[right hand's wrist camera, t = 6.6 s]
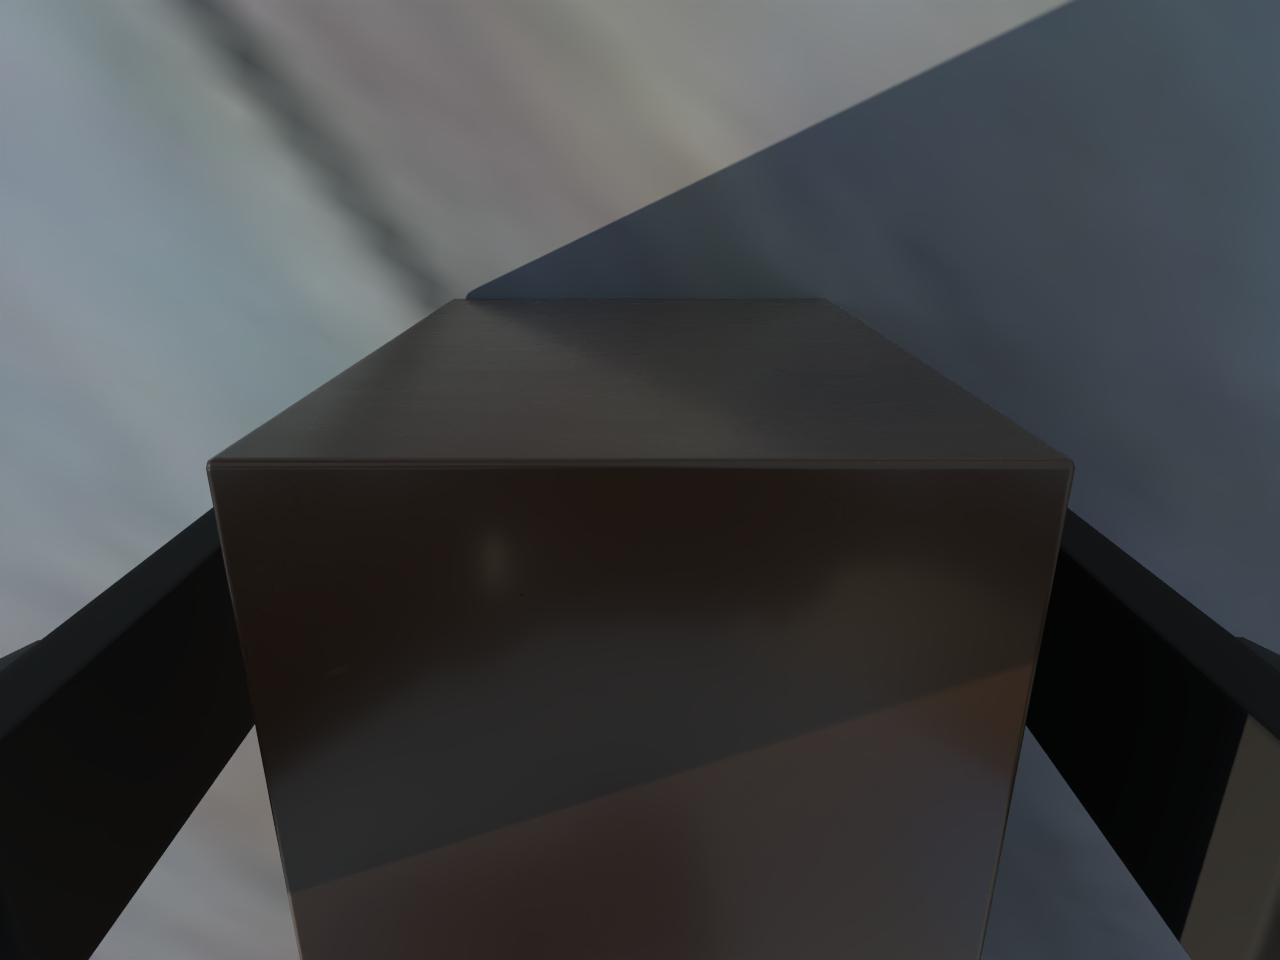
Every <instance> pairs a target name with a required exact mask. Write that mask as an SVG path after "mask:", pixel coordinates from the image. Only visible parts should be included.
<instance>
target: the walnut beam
mask: <svg viewBox="0 0 1280 960" xmlns="http://www.w3.org/2000/svg"><path fill="white" fill-rule="evenodd" d="M206 470H207V476H208V481H209V486H210V491H211V497H212V502H213V507H214V512H215V517H216V523H217V528H218V533H219V538H220V543H221V549H222V554H223V559H224V564H225V570H226V575H227V580H228V585H229V590H230V596H231V601H232V606H233V611H234V617H235V622H236V627H237V632H238V637H239V643H240V648H241V653H242V658H243V663H244V669H245V674H246V679H247V684H248V690H249V695H250V700H251V705H252V710H253V716H254V721H255V726H256V731H257V736H258V742H259V747H260V752H261V757H262V763H263V768H264V773H265V778H266V783H267V789H268V794H269V799H270V804H271V810H272V815H273V820H274V825H275V830H276V836H277V841H278V846H279V851H280V856H281V862H282V867H283V872H284V877H285V883H286V888H287V893H288V898H289V903H290V909H291V914H292V919H293V924H294V929H295V935H296V940H297V945H298V950H299V956H300V960H980V959H981V954H982V949H983V943H984V938H985V933H986V928H987V923H988V917H989V912H990V907H991V902H992V897H993V891H994V886H995V881H996V876H997V871H998V865H999V860H1000V855H1001V850H1002V845H1003V839H1004V834H1005V829H1006V824H1007V818H1008V813H1009V808H1010V803H1011V798H1012V792H1013V787H1014V782H1015V777H1016V772H1017V766H1018V761H1019V756H1020V751H1021V746H1022V740H1023V735H1024V730H1025V725H1026V720H1027V714H1028V709H1029V704H1030V699H1031V693H1032V688H1033V683H1034V678H1035V673H1036V667H1037V662H1038V657H1039V652H1040V647H1041V641H1042V636H1043V631H1044V626H1045V621H1046V615H1047V610H1048V605H1049V600H1050V595H1051V589H1052V584H1053V579H1054V574H1055V569H1056V563H1057V558H1058V553H1059V548H1060V542H1061V537H1062V532H1063V527H1064V522H1065V516H1066V511H1067V506H1068V501H1069V496H1070V490H1071V485H1072V480H1073V475H1074V470H1075V467H1074V462H1073V460H1072V459H1070V458H1069V457H1067V456H1066V455H1064V454H1062V453H1061V452H1059V451H1058V450H1056V449H1055V448H1053V447H1052V446H1050V445H1049V444H1047V443H1046V442H1044V441H1043V440H1041V439H1040V438H1038V437H1036V436H1035V435H1033V434H1032V433H1030V432H1029V431H1027V430H1026V429H1024V428H1023V427H1021V426H1020V425H1018V424H1017V423H1015V422H1014V421H1012V420H1010V419H1009V418H1007V417H1006V416H1004V415H1003V414H1001V413H1000V412H998V411H997V410H995V409H994V408H992V407H991V406H989V405H987V404H986V403H984V402H983V401H981V400H980V399H978V398H977V397H975V396H974V395H972V394H971V393H969V392H968V391H966V390H965V389H963V388H961V387H960V386H958V385H957V384H955V383H954V382H952V381H951V380H949V379H948V378H946V377H945V376H943V375H942V374H940V373H939V372H937V371H935V370H934V369H932V368H931V367H929V366H928V365H926V364H925V363H923V362H922V361H920V360H919V359H917V358H916V357H914V356H912V355H911V354H909V353H908V352H906V351H905V350H903V349H902V348H900V347H899V346H897V345H896V344H894V343H893V342H891V341H890V340H888V339H886V338H885V337H883V336H882V335H880V334H879V333H877V332H876V331H874V330H873V329H871V328H870V327H868V326H867V325H865V324H863V323H862V322H860V321H859V320H857V319H856V318H854V317H853V316H851V315H850V314H848V313H847V312H845V311H844V310H842V309H841V308H839V307H837V306H836V305H834V304H833V303H831V302H830V301H828V300H826V299H454V300H452V301H450V302H449V303H447V304H446V305H444V306H442V307H441V308H439V309H438V310H436V311H435V312H433V313H432V314H430V315H429V316H427V317H426V318H424V319H423V320H421V321H420V322H418V323H417V324H415V325H414V326H412V327H410V328H409V329H407V330H406V331H404V332H403V333H401V334H400V335H398V336H397V337H395V338H394V339H392V340H391V341H389V342H388V343H386V344H385V345H383V346H382V347H380V348H379V349H377V350H375V351H374V352H372V353H371V354H369V355H368V356H366V357H365V358H363V359H362V360H360V361H359V362H357V363H356V364H354V365H353V366H351V367H350V368H348V369H347V370H345V371H343V372H342V373H340V374H339V375H337V376H336V377H334V378H333V379H331V380H330V381H328V382H327V383H325V384H324V385H322V386H321V387H319V388H318V389H316V390H315V391H313V392H311V393H310V394H308V395H307V396H305V397H304V398H302V399H301V400H299V401H298V402H296V403H295V404H293V405H292V406H290V407H289V408H287V409H286V410H284V411H283V412H281V413H280V414H278V415H276V416H275V417H273V418H272V419H270V420H269V421H267V422H266V423H264V424H263V425H261V426H260V427H258V428H257V429H255V430H254V431H252V432H251V433H249V434H248V435H246V436H244V437H243V438H241V439H240V440H238V441H237V442H235V443H234V444H232V445H231V446H229V447H228V448H226V449H225V450H223V451H222V452H220V453H219V454H217V455H216V456H214V457H212V458H211V459H209V460H208V462H207V467H206Z"/></svg>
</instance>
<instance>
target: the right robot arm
mask: <svg viewBox="0 0 1280 960" xmlns="http://www.w3.org/2000/svg"><path fill="white" fill-rule="evenodd" d="M254 724H255V721H254V716H253V710H252V705H251V700H250V695H249V690H248V684H247V679H246V674H245V669H244V663H243V658H242V653H241V648H240V643H239V637H238V632H237V627H236V622H235V617H234V611H233V606H232V601H231V596H230V590H229V585H228V580H227V575H226V570H225V564H224V559H223V554H222V549H221V543H220V538H219V533H218V528H217V523H216V517H215V512H214V507H213V508H212V509H210V510H209V511H208V512H207V513H205V514H204V515H203V516H201V517H200V518H199V519H197V520H196V521H195V522H194V523H192V524H191V525H190V526H188V527H187V528H186V529H184V530H183V531H182V532H181V533H179V534H178V535H177V536H175V537H174V538H173V539H172V540H170V541H169V542H168V543H166V544H165V545H164V546H162V547H161V548H160V549H159V550H157V551H156V552H155V553H153V554H152V555H151V556H149V557H148V558H147V559H146V560H144V561H143V562H142V563H140V564H139V565H138V566H137V567H135V568H134V569H133V570H131V571H130V572H129V573H127V574H126V575H125V576H124V577H122V578H121V579H120V580H118V581H117V582H116V583H114V584H113V585H112V586H111V587H109V588H108V589H107V590H105V591H104V592H103V593H102V594H100V595H99V596H98V597H96V598H95V599H94V600H92V601H91V602H90V603H89V604H87V605H86V606H85V607H83V608H82V609H81V610H79V611H78V612H77V613H76V614H74V615H73V616H72V617H70V618H69V619H68V620H67V621H65V622H64V623H63V624H61V625H60V626H59V627H57V628H56V629H55V630H54V631H52V632H51V633H50V634H48V635H47V636H46V637H45V638H43V639H42V640H38V641H36V642H34V643H32V644H29V645H27V646H25V647H23V648H21V649H19V650H17V651H15V652H13V653H11V654H9V655H7V656H5V657H3V658H1V659H0V960H89V958H90V957H91V955H92V954H93V952H94V951H95V950H96V948H97V947H98V945H99V944H100V943H101V941H102V940H103V938H104V937H105V935H106V934H107V933H108V931H109V930H110V928H111V927H112V926H113V924H114V923H115V921H116V920H117V918H118V917H119V916H120V914H121V913H122V911H123V910H124V909H125V907H126V906H127V904H128V903H129V901H130V900H131V899H132V897H133V896H134V894H135V893H136V892H137V890H138V889H139V887H140V886H141V884H142V883H143V882H144V880H145V879H146V877H147V876H148V875H149V873H150V872H151V870H152V869H153V867H154V866H155V865H156V863H157V862H158V860H159V859H160V858H161V856H162V855H163V853H164V852H165V850H166V849H167V848H168V846H169V845H170V843H171V842H172V841H173V839H174V838H175V836H176V835H177V833H178V832H179V831H180V829H181V828H182V826H183V825H184V824H185V822H186V821H187V819H188V818H189V816H190V815H191V814H192V812H193V811H194V809H195V808H196V807H197V805H198V804H199V802H200V801H201V799H202V798H203V797H204V795H205V794H206V792H207V791H208V790H209V788H210V787H211V785H212V784H213V782H214V781H215V780H216V778H217V777H218V775H219V774H220V773H221V771H222V770H223V768H224V767H225V765H226V764H227V763H228V761H229V760H230V758H231V757H232V756H233V754H234V753H235V751H236V750H237V748H238V747H239V746H240V744H241V743H242V741H243V740H244V739H245V737H246V736H247V734H248V733H249V731H250V730H251V729H252V727H253V726H254ZM1026 726H1027V727H1028V729H1029V730H1030V731H1031V733H1032V734H1033V736H1034V737H1035V738H1036V740H1037V741H1038V743H1039V744H1040V746H1041V747H1042V748H1043V750H1044V751H1045V753H1046V754H1047V755H1048V757H1049V758H1050V760H1051V761H1052V763H1053V764H1054V765H1055V767H1056V768H1057V770H1058V771H1059V773H1060V774H1061V775H1062V777H1063V778H1064V780H1065V781H1066V782H1067V784H1068V785H1069V787H1070V788H1071V790H1072V791H1073V792H1074V794H1075V795H1076V797H1077V798H1078V799H1079V801H1080V802H1081V804H1082V805H1083V807H1084V808H1085V809H1086V811H1087V812H1088V814H1089V815H1090V816H1091V818H1092V819H1093V821H1094V822H1095V824H1096V825H1097V826H1098V828H1099V829H1100V831H1101V832H1102V833H1103V835H1104V836H1105V838H1106V839H1107V841H1108V842H1109V843H1110V845H1111V846H1112V848H1113V849H1114V850H1115V852H1116V853H1117V855H1118V856H1119V858H1120V859H1121V860H1122V862H1123V863H1124V865H1125V866H1126V867H1127V869H1128V870H1129V872H1130V873H1131V875H1132V876H1133V877H1134V879H1135V880H1136V882H1137V883H1138V884H1139V886H1140V887H1141V889H1142V890H1143V892H1144V893H1145V894H1146V896H1147V897H1148V899H1149V900H1150V901H1151V903H1152V904H1153V906H1154V907H1155V909H1156V910H1157V911H1158V913H1159V914H1160V916H1161V917H1162V918H1163V920H1164V921H1165V923H1166V924H1167V926H1168V927H1169V928H1170V930H1171V931H1172V933H1173V934H1174V935H1175V937H1176V938H1177V940H1178V941H1179V943H1180V944H1181V945H1182V947H1183V948H1184V950H1185V951H1186V952H1187V954H1188V955H1189V957H1190V958H1191V960H1280V655H1278V654H1276V653H1274V652H1272V651H1270V650H1268V649H1266V648H1264V647H1262V646H1260V645H1258V644H1256V643H1254V642H1251V641H1249V640H1247V639H1245V638H1243V637H1234V636H1233V635H1232V634H1230V633H1229V632H1228V631H1226V630H1225V629H1224V628H1223V627H1221V626H1220V625H1219V624H1217V623H1216V622H1215V621H1213V620H1212V619H1211V618H1210V617H1208V616H1207V615H1206V614H1204V613H1203V612H1202V611H1201V610H1199V609H1198V608H1197V607H1195V606H1194V605H1193V604H1191V603H1190V602H1189V601H1188V600H1186V599H1185V598H1184V597H1182V596H1181V595H1180V594H1178V593H1177V592H1176V591H1175V590H1173V589H1172V588H1171V587H1169V586H1168V585H1167V584H1166V583H1164V582H1163V581H1162V580H1160V579H1159V578H1158V577H1156V576H1155V575H1154V574H1153V573H1151V572H1150V571H1149V570H1147V569H1146V568H1145V567H1143V566H1142V565H1141V564H1140V563H1138V562H1137V561H1136V560H1134V559H1133V558H1132V557H1131V556H1129V555H1128V554H1127V553H1125V552H1124V551H1123V550H1121V549H1120V548H1119V547H1118V546H1116V545H1115V544H1114V543H1112V542H1111V541H1110V540H1108V539H1107V538H1106V537H1105V536H1103V535H1102V534H1101V533H1099V532H1098V531H1097V530H1096V529H1094V528H1093V527H1092V526H1090V525H1089V524H1088V523H1086V522H1085V521H1084V520H1083V519H1081V518H1080V517H1079V516H1077V515H1076V514H1075V513H1074V512H1072V511H1071V510H1070V509H1068V508H1067V511H1066V516H1065V522H1064V527H1063V532H1062V537H1061V542H1060V548H1059V553H1058V558H1057V563H1056V569H1055V574H1054V579H1053V584H1052V589H1051V595H1050V600H1049V605H1048V610H1047V615H1046V621H1045V626H1044V631H1043V636H1042V641H1041V647H1040V652H1039V657H1038V662H1037V667H1036V673H1035V678H1034V683H1033V688H1032V693H1031V699H1030V704H1029V709H1028V714H1027V720H1026Z"/></svg>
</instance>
